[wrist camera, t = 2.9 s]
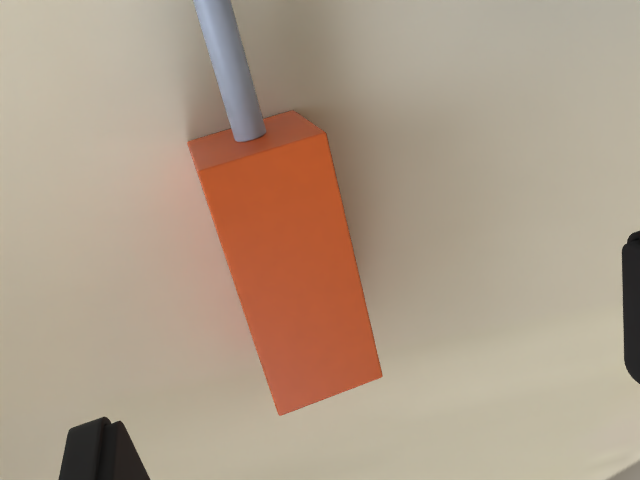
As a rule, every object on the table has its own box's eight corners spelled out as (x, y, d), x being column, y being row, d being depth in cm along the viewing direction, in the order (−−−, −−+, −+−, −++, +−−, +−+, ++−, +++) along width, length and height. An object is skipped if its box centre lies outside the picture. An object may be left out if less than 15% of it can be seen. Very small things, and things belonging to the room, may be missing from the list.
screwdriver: (347, 321, 19) (383, 377, 16) (257, 354, 19) (279, 417, 16) (231, -138, 14) (255, -174, 11) (103, -109, 14) (93, -139, 11)
